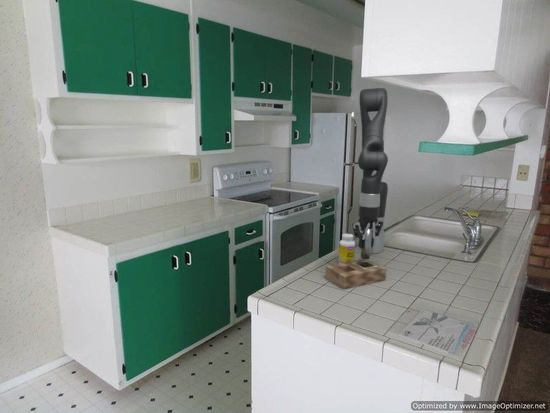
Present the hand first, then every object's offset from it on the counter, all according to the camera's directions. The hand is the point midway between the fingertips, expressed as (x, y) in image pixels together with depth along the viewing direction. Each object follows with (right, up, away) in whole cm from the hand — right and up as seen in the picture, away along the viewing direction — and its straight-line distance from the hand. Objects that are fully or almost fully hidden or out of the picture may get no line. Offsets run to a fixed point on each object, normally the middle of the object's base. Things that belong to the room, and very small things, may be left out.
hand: (366, 247), depth 154 cm
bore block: (-4, -12, +1) cm, 13 cm away
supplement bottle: (-5, -9, +17) cm, 20 cm away
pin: (0, -4, +1) cm, 4 cm away
